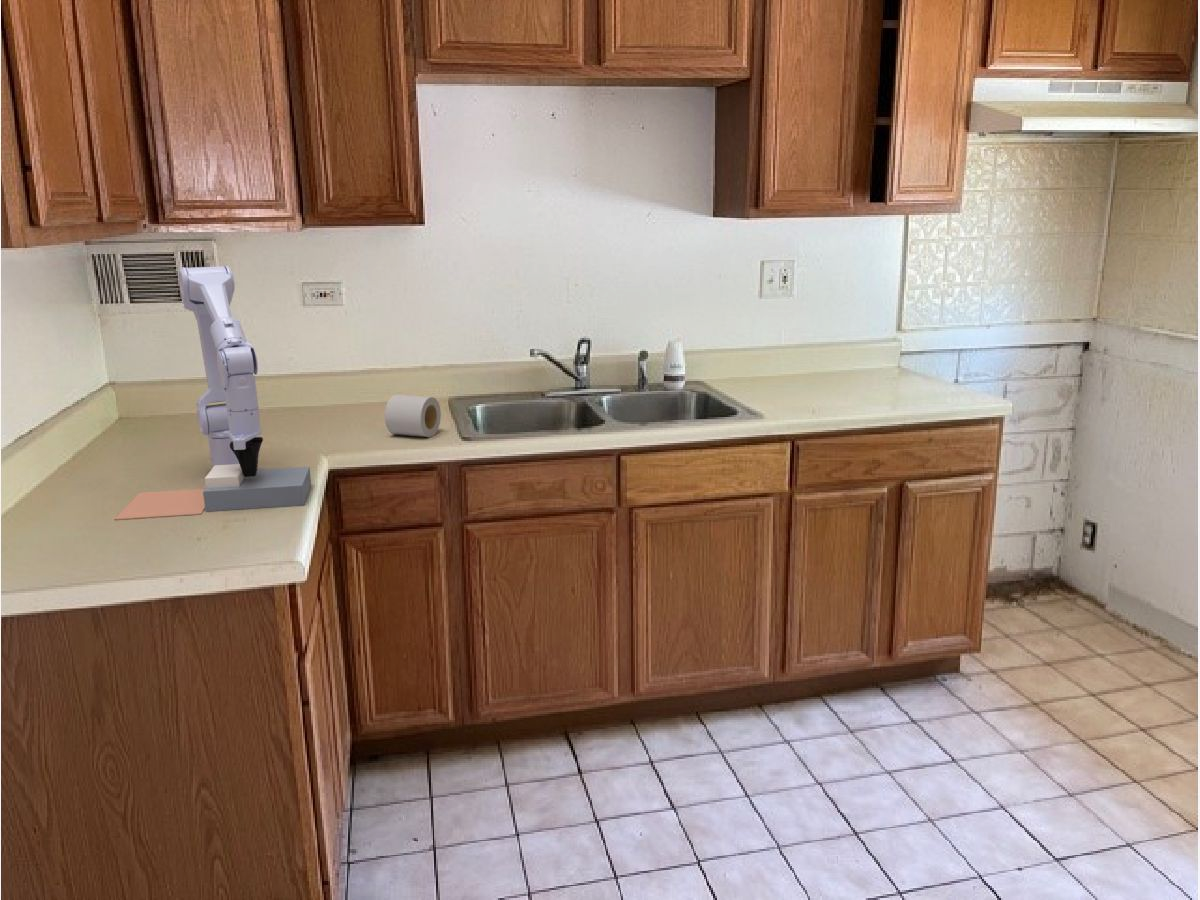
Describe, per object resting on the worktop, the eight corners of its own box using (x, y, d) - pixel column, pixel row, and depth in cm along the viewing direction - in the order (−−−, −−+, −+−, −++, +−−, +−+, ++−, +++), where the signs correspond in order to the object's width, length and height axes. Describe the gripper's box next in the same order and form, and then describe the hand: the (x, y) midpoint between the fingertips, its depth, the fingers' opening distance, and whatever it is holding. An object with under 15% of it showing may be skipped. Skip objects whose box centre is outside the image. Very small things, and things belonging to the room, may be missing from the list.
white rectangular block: (215, 474, 180) (214, 465, 179) (247, 473, 181) (246, 463, 180) (206, 488, 171) (204, 478, 171) (239, 486, 172) (237, 476, 172)
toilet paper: (386, 438, 223) (383, 399, 220) (407, 428, 232) (404, 391, 230) (422, 441, 220) (419, 401, 217) (441, 431, 229) (439, 393, 226)
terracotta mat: (140, 493, 181) (139, 492, 181) (218, 488, 184) (218, 487, 184) (115, 520, 166) (114, 519, 166) (201, 514, 169) (200, 513, 169)
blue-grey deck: (219, 490, 183) (217, 472, 182) (311, 485, 186) (309, 466, 185) (205, 511, 171) (202, 491, 169) (304, 505, 174) (302, 485, 173)
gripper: (228, 401, 179) (235, 466, 183) (212, 418, 166) (221, 488, 169) (265, 399, 181) (271, 464, 184) (253, 416, 167) (260, 485, 171)
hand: (250, 475), depth 177 cm, fingers closed
